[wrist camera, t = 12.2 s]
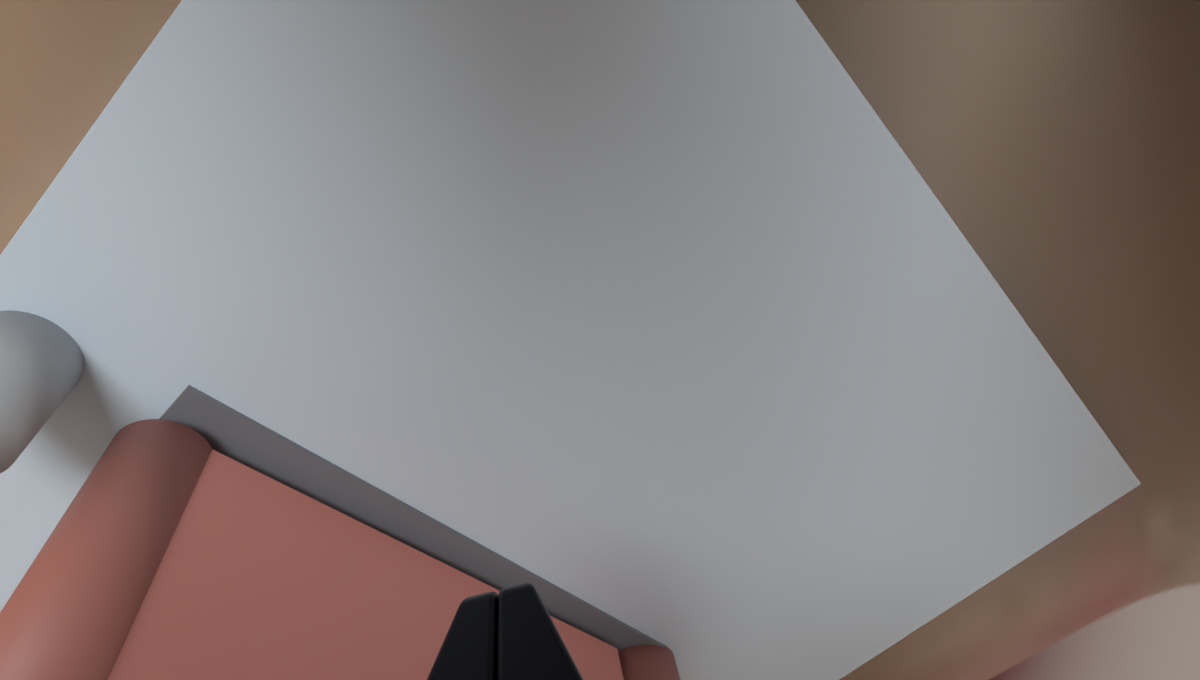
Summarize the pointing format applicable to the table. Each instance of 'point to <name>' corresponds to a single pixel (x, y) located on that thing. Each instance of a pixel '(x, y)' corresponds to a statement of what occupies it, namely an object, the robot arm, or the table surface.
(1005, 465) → the card
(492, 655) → the robot arm
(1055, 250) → the table surface
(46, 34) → the table surface
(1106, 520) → the table surface
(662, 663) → the fence fixed panel
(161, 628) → the panel
